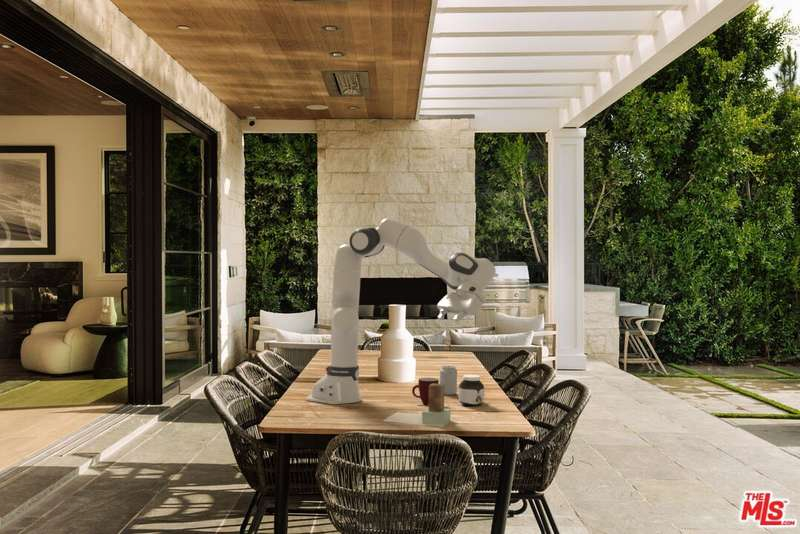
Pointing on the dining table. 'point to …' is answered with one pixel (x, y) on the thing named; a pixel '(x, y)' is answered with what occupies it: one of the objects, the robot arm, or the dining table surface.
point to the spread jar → (471, 391)
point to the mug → (424, 388)
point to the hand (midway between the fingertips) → (447, 320)
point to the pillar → (436, 397)
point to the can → (449, 379)
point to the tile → (409, 419)
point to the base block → (436, 417)
